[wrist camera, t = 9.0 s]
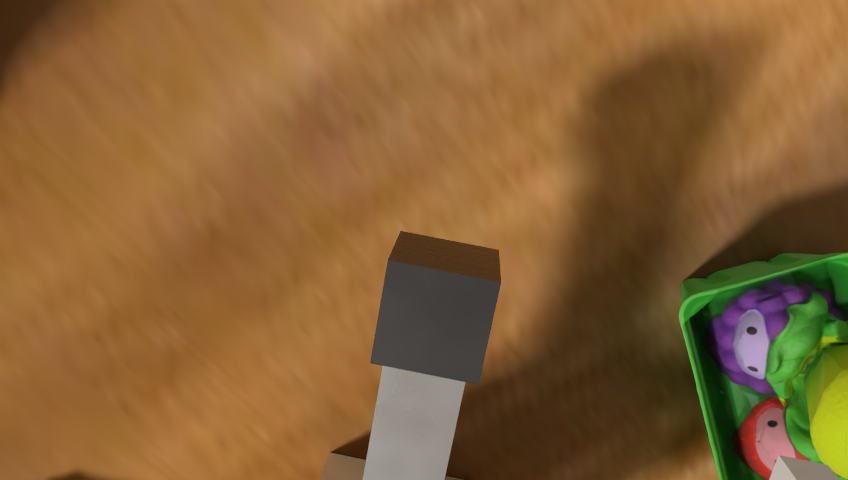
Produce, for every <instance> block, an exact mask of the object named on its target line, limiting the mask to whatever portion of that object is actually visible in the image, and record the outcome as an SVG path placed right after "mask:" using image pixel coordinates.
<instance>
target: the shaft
mask: <svg viewBox="0 0 848 480" xmlns="http://www.w3.org/2000/svg"><path fill="white" fill-rule="evenodd" d="M500 285H501V275H500V261H499V250H496V249H491V248H486V247H481V246H475V245H470V244H465V243H460V242H455V241H450V240H444V239H439V238H434V237H429V236H424V235H419V234H414V233H408V232H403V231H401V232H400V234H399V236H398V239H397V241H396V243H395V245H394V248H393V250H392V252H391V255H390V257H389V259H388V263H387V269H386V275H385V281H384V287H383V292H382V298H381V304H380V310H379V316H378V321H377V327H376V333H375V339H374V345H373V350H372V356H371V362H370V363H372V364H377V365H382V366H383V368H382V374H381V379H380V385H379V391H378V396H377V402H376V407H375V413H374V419H373V424H372V430H371V435H370V441H369V447H368V452H367V458H366V464H365V469H364V475H363V480H445V475H446V470H447V466H448V461H449V456H450V452H451V447H452V442H453V438H454V433H455V428H456V424H457V419H458V414H459V410H460V405H461V401H462V396H463V391H464V387H465V382H467V383H472V384H477V385H478V384H479V380H480V375H481V371H482V366H483V362H484V357H485V352H486V348H487V343H488V339H489V334H490V330H491V325H492V321H493V316H494V312H495V307H496V303H497V298H498V294H499V289H500Z"/></svg>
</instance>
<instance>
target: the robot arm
mask: <svg viewBox="0 0 848 480" xmlns="http://www.w3.org/2000/svg"><path fill="white" fill-rule="evenodd" d="M769 480H840V479H839V478H838V477H837V476H836V474H835V473H834V472H833V471H832V469H831V468H830V467H829V466H828V465H825V464H820V463H815V462H811V461H806V460H801V459H796V458H791V457H786V456H782V455H778V458H777V460H776V463H775V466H774V468H773V471H772V473H771V476H770V479H769Z"/></svg>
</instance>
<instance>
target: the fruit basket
mask: <svg viewBox="0 0 848 480" xmlns="http://www.w3.org/2000/svg"><path fill="white" fill-rule="evenodd" d="M681 292H682V303H681V305H680V309H679V321H680V324H681V328H682V331H683V335H684V339H685V343H686V347H687V350H688V354H689V358H690V362H691V366H692V370H693V374H694V378H695V382H696V388H697V392H698V396H699V399H700V404H701V408H702V412H703V416H704V421H705V425H706V429H707V432H708V436H709V442H710V444H711V448H712V452H713V456H714V460H715V464H716V467H717V472H718V476H719V480H769V479H770V476H771V473H772V471H773V468H774V466H775V463H776V460H777V458H778V455H782V456H786V457H791V458H796V459H801V460H806V461H811V462H815V463H820V464H825V465H828V466H829V467H830V468H831V469H832V471H833V472H834V473H835V474H836V476H837V477H838V478H839V479H840V480H848V253H830V254H825V255H818V254H800V253H783V254H780V255H777V256H776V257H774V258H772V259H770V260H769V261H768V262H766V261H754V262H750V263H746V264H742V265H739V266H735V267H731V268H728V269H724V270H720V271H717V272H714V273H713V274H711V275H709V276H708V277H706V278H705V279H703V278H691V279H687V280H685V281H683V282H682V284H681Z"/></svg>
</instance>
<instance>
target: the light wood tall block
mask: <svg viewBox="0 0 848 480" xmlns="http://www.w3.org/2000/svg"><path fill="white" fill-rule="evenodd" d="M365 464H366V460H364V459H359V458H354V457H349V456H345V455H340V454H335V453H330V454H329V457H328V459H327V462H326V465H325V467H324V470H323V473H322V475H321V478H320V480H363V475H364V469H365ZM445 480H462V479H457V478H453V477H448V476H445Z"/></svg>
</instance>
